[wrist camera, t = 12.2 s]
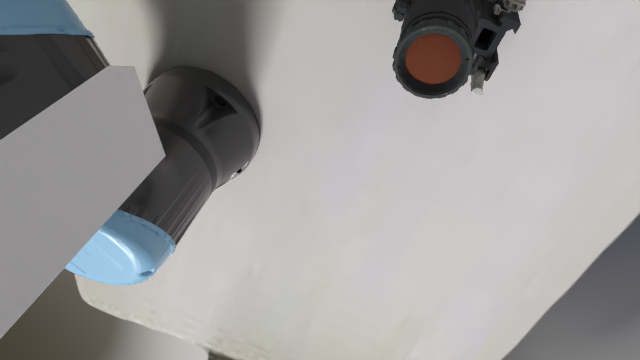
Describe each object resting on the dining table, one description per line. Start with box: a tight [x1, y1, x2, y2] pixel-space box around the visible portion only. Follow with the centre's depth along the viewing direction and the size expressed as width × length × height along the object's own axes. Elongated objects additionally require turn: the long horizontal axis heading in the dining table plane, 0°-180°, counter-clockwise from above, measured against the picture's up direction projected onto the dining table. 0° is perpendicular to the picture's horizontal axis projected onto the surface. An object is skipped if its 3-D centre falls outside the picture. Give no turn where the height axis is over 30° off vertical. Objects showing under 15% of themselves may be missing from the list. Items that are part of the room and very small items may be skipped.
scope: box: [392, 0, 526, 99], centre depth 36 cm, size 8×14×10 cm
